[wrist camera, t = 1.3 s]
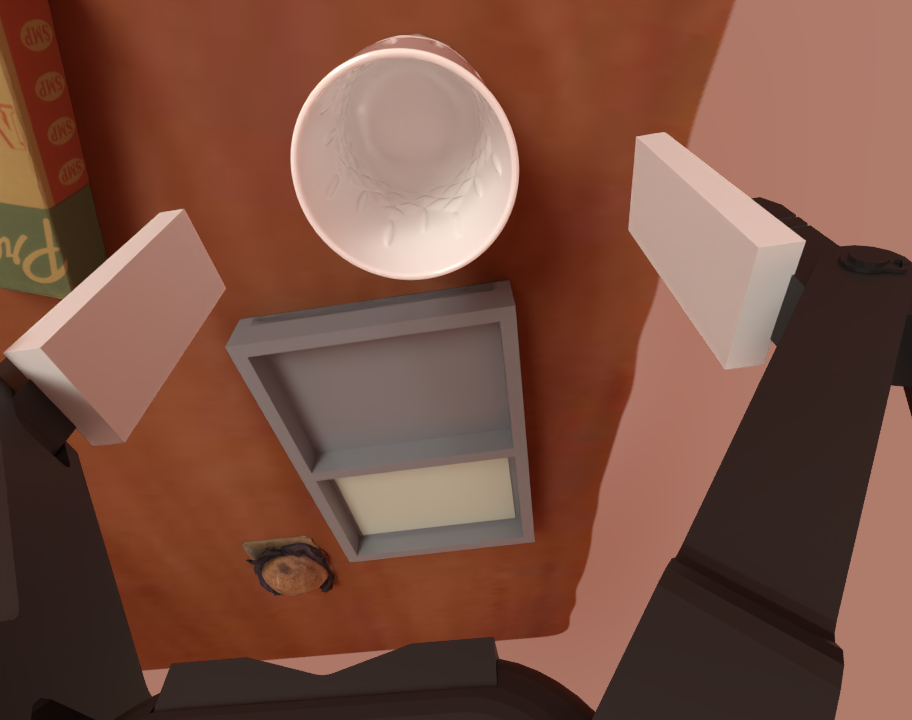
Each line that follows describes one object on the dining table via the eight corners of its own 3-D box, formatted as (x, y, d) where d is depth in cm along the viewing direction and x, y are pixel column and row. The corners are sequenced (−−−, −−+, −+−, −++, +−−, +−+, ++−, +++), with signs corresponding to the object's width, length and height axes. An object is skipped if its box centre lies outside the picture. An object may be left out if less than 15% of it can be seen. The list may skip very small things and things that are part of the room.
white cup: (324, 163, 26) (278, 249, 18) (352, -12, 21) (307, 4, 14) (462, 207, 28) (474, 301, 20) (516, 54, 23) (558, 102, 15)
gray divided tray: (353, 534, 49) (349, 562, 47) (239, 319, 32) (225, 347, 30) (529, 514, 48) (534, 541, 46) (509, 279, 31) (515, 305, 29)
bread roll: (238, 536, 50) (226, 571, 47) (317, 528, 50) (310, 563, 47) (274, 585, 57) (266, 618, 54) (345, 578, 56) (340, 611, 53)
